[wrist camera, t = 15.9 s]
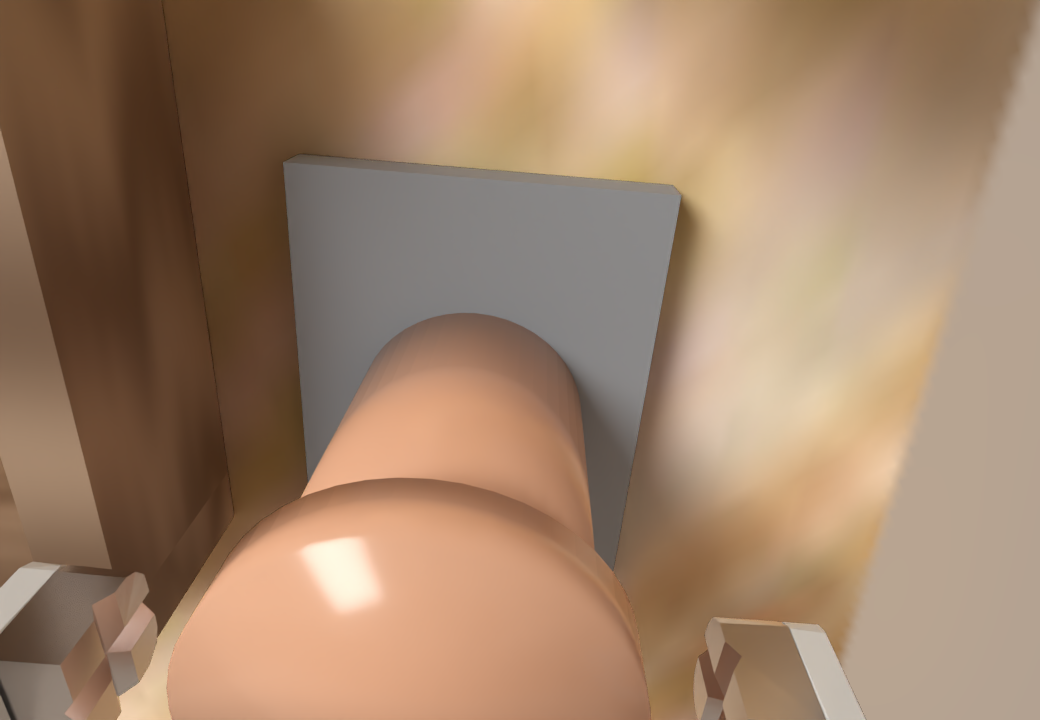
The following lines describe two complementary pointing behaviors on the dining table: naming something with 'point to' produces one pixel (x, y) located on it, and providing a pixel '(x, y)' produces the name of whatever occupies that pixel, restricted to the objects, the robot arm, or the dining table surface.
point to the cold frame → (102, 305)
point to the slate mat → (482, 285)
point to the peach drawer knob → (427, 557)
